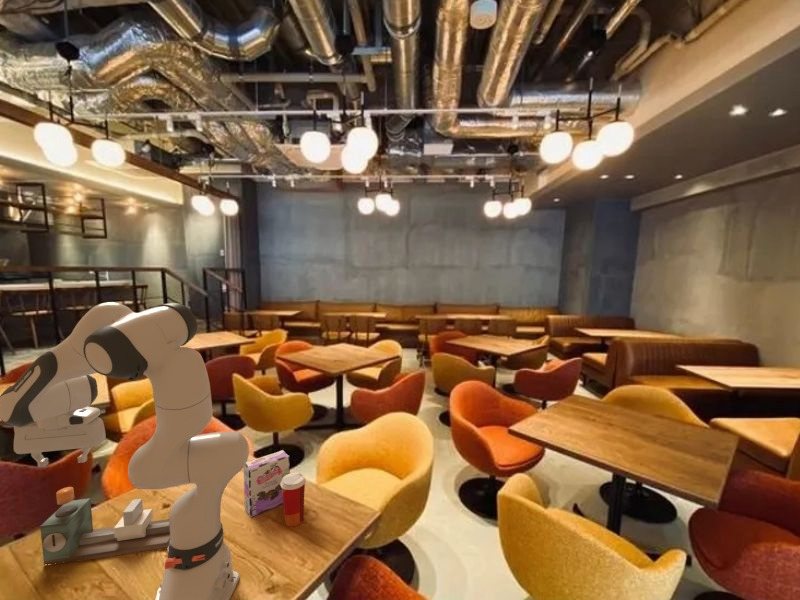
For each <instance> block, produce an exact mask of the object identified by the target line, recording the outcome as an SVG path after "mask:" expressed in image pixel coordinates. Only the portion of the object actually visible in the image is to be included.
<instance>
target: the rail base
mask: <svg viewBox="0 0 800 600" xmlns="http://www.w3.org/2000/svg"><path fill="white" fill-rule="evenodd" d="M91 501H92V500H91V497H90V498H83V499H82V498H81V499H74V500H72V501H71V502H69V503H67V504H63V505H60V507H59V508H58V509H57V510H56V511H55V512H54V513H52V514H51V516H50V517H48V518H47V519H46V520H45V521H44V522H43V523H42V524H40V527H39V528H40V536H41V537H40V539H41V549H42V558H43V559H42V561H43V566H44V565H45V564H47V565H48V564H55V563H56V565H59V564H58V563H62V564H64V563H63V562H69V563H71V562H70V561H75V562H79V561H78V560H82V561H86V559H88V560H93V559H94V558H95V559H100V558H107V557H108V558H109V557H113V556H114V557H115V556H119V555H126V554H132V553H139V552H146V551H151V550H152V551H153V550H157V549H166V547H167V548H168V545H169V540H170V527H169V518H167V519H166V518H165V519H160V520H153V521H152V520H151V524H150V525H148V526H147V528H146V536H145V537H141V538H134V539H128V540H121V541H117V538H115V536H114V527H115V526H111V527H101V528H95V529H94V525H93V524H94V522H93V513H92V502H91Z"/></svg>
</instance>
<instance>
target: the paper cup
mask: <svg viewBox="0 0 800 600" xmlns="http://www.w3.org/2000/svg"><path fill="white" fill-rule="evenodd" d="M306 482H307V481H306V478H305V475H303V474H302V473H300V472H292V473H291V472H290V474H288V475H286V476H284V477H283V479H282V481H281V484H280V485H281V488H282V495H283V504H282V505H283V515H284V521H285V525H286V526H288V527H296V526H298V525H301V523H303V521H304V516H305V515H304V513H305V489H306V488H305V487H306Z"/></svg>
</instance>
